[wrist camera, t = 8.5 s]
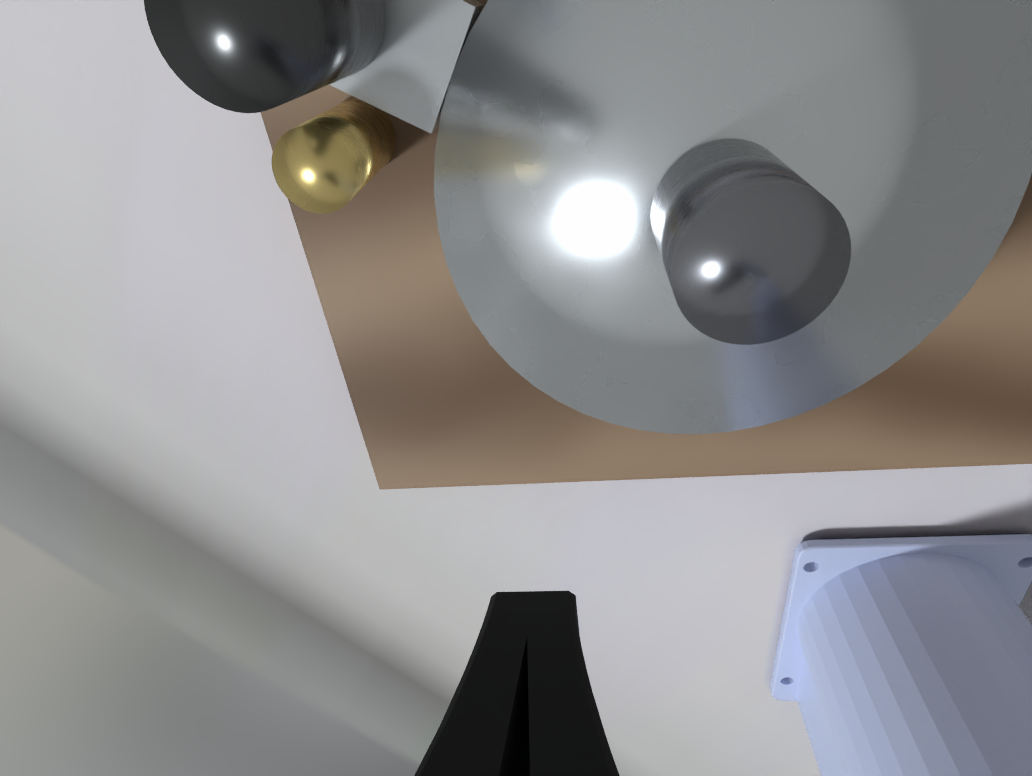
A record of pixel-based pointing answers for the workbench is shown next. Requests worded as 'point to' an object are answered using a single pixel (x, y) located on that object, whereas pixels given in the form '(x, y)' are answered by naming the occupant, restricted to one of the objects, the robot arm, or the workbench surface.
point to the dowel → (333, 155)
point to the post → (747, 243)
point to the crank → (665, 165)
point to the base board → (595, 443)
